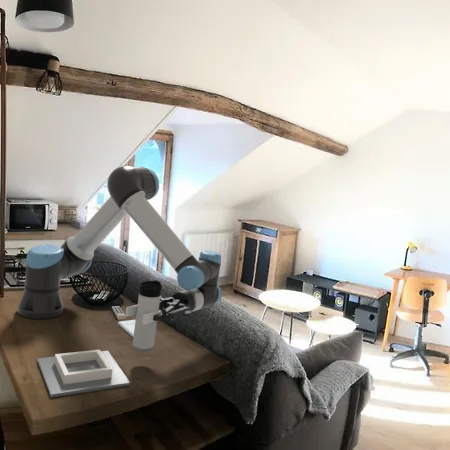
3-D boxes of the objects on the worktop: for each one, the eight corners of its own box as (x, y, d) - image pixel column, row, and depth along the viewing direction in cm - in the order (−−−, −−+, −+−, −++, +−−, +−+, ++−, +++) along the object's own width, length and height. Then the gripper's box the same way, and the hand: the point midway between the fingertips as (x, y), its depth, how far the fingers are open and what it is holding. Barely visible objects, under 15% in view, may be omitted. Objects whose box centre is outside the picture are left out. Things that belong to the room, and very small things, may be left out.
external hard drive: (133, 339, 151) (117, 325, 161) (154, 336, 156) (138, 322, 166) (133, 334, 151) (118, 321, 160) (155, 331, 156) (139, 318, 165)
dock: (37, 361, 126) (38, 349, 126) (107, 353, 137) (108, 342, 137) (50, 397, 110) (51, 384, 109) (129, 385, 120) (131, 373, 120)
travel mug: (158, 347, 136) (166, 283, 133) (145, 354, 130) (154, 287, 127) (141, 341, 138) (149, 278, 135) (127, 347, 132) (136, 282, 129)
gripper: (208, 321, 143) (158, 339, 123) (163, 303, 153) (110, 317, 134) (211, 299, 141) (161, 313, 122) (166, 282, 152) (113, 293, 133)
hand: (135, 315), depth 128 cm, fingers closed on travel mug, 6 cm apart
